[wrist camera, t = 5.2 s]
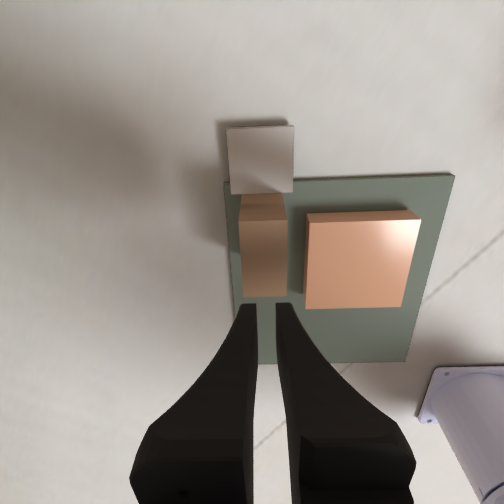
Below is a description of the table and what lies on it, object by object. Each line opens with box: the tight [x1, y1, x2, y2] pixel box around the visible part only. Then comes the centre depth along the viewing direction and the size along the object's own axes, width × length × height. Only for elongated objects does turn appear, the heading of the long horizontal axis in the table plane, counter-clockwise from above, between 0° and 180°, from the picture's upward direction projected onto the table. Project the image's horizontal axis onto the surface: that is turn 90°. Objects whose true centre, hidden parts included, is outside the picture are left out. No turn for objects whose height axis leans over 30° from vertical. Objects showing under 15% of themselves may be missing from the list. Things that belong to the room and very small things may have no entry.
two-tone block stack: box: [226, 125, 294, 297], centre depth 19 cm, size 9×4×5 cm, turn 2°
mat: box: [224, 174, 455, 364], centre depth 25 cm, size 15×17×1 cm
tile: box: [303, 210, 421, 309], centre depth 23 cm, size 7×2×7 cm
